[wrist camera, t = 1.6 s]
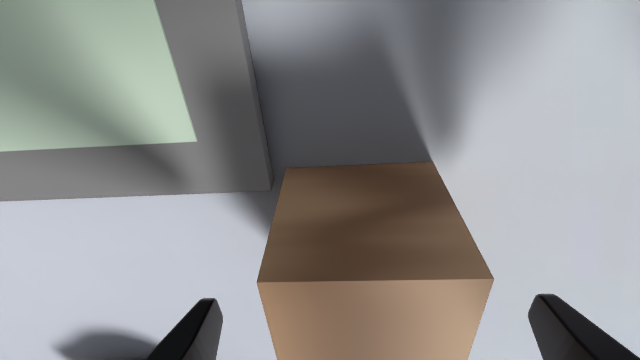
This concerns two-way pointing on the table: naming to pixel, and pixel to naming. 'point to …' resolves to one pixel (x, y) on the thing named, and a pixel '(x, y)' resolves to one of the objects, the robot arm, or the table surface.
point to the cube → (371, 266)
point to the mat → (128, 100)
